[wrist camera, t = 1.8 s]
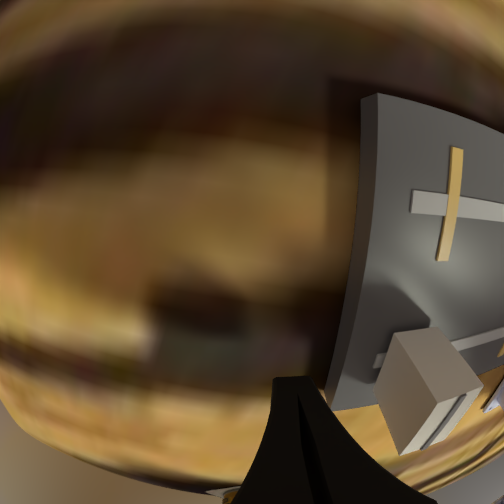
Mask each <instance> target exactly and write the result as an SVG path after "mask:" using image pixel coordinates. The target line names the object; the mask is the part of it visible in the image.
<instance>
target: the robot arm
mask: <svg viewBox="0 0 504 504" xmlns="http://www.w3.org/2000/svg"><path fill="white" fill-rule="evenodd" d="M499 405H500V406H501V407H502V409H503V410H504V379H503V381H502V382H501V384H500V386H499V387H498V389H497V390H496V392H495V393H494V395H493V396H492V398H491V399H490V400H489V402H488V403H487V405H486V406H485V407H484V409H483V413H486V412H488V411H490V410H492V409H494V408H496V407H497V406H499ZM270 409H271V410H270V414H269V418H268V422H267V426H266V429H265V432H264V435H263V438H262V441H261V444H260V447H259V449H258V452H257V454H256V456H255V459H254V461H253V463H252V465H251V467H250V470H249V472H248V473H247V475H246V477H245V479H244V481H243V483H242V485H241V487H240V488H239V490H238V492H237V493H236V495H235V497H234V498H233V500H232V501H231V503H230V504H438V503H437V501H435V500H434V499H431V498H429V497H427V496H425V495H423V494H422V493H420V492H418V491H416V490H414V489H413V488H411V487H410V486H408V485H406V484H405V483H403V482H402V481H400V480H399V479H398V478H396V477H395V476H394V475H392V474H391V473H390V472H388V471H387V470H386V469H384V468H383V467H382V466H381V465H379V464H378V463H377V462H376V461H375V460H374V459H373V458H372V457H371V456H370V455H369V454H368V453H366V452H365V451H364V450H363V449H362V448H361V446H360V445H359V444H358V443H357V442H356V441H355V440H354V439H353V438H352V436H351V435H350V434H349V433H348V432H347V430H346V429H345V428H344V427H343V425H342V424H341V423H340V422H339V420H338V419H337V417H336V416H335V415H334V413H333V412H332V410H331V409H330V408H329V406H328V405H327V403H326V401H325V400H324V398H323V397H322V395H321V393H320V392H319V390H318V388H317V387H316V385H315V383H314V381H313V379H312V377H310V376H294V377H276V378H274V379H273V383H272V396H271V408H270ZM492 504H504V495H503V496H502V497H500V498H499V499H497V500H496V501H495V502H493V503H492Z"/></svg>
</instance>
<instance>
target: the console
mask: <svg viewBox="0 0 504 504" xmlns="http://www.w3.org/2000/svg"><path fill="white" fill-rule="evenodd" d="M431 327H438V328H439V329H440V330H441V332H442V333H443V334H444V335H445V336H446V337H447V339H448V340H449V341H450V342H451V344H452V345H453V346H454V347H455V348H456V350H457V351H458V352H459V353H460V355H461V356H462V357H463V358H464V360H465V361H466V362H467V364H468V365H469V366H470V367H471V369H472V370H473V371H474V373H475V374H476V375H480V374H482V373H485V372H487V371H490V370H492V369H494V368H497V367H499V366H501V365H503V364H504V134H502V133H500V132H498V131H496V130H494V129H491V128H489V127H487V126H484V125H482V124H480V123H477V122H475V121H472V120H469V119H467V118H464V117H461V116H459V115H456V114H453V113H450V112H447V111H444V110H441V109H438V108H435V107H432V106H428V105H425V104H421V103H418V102H414V101H410V100H406V99H402V98H398V97H394V96H390V95H385V94H380V93H376V94H373V95H370V96H368V97H365V98H362V99H361V140H360V166H359V183H358V197H357V208H356V219H355V228H354V237H353V245H352V253H351V260H350V267H349V274H348V281H347V287H346V293H345V299H344V304H343V310H342V315H341V320H340V325H339V330H338V335H337V340H336V344H335V349H334V353H333V357H332V362H331V366H330V370H329V374H328V378H327V382H326V386H325V389H324V393H325V397H326V400H327V404H328V406H329V408H330V409H331V410H332V411H338V410H346V409H352V408H359V407H364V406H370V405H375V404H378V401H377V399H376V397H375V394H374V392H373V388H374V385H375V383H376V381H377V378H378V376H379V373H380V370H381V368H382V365H383V363H384V360H385V357H386V354H387V352H388V349H389V346H390V343H391V340H392V337H393V334H394V333H397V332H404V331H411V330H418V329H424V328H431Z"/></svg>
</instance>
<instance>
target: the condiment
mask: <svg viewBox="0 0 504 504" xmlns="http://www.w3.org/2000/svg"><path fill="white" fill-rule="evenodd" d="M240 487H241V486H237V487H231V488H224V489H217V490H210V491H206V493H209V494H211V495H214V496H218V497H220V498H223V504H230V503H231V501H232V500H233V498H234V497H235V495H236V493H237V492H238V490H239V488H240Z"/></svg>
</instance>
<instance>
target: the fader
mask: <svg viewBox="0 0 504 504" xmlns="http://www.w3.org/2000/svg"><path fill="white" fill-rule="evenodd" d="M483 386H484V385H483V383H482V382H481V381H480V379H479V378H478V377H477V375H476V374H475V373H474V371H473V370H472V369H471V367H470V366H469V365H468V364H467V362H466V361H465V360H464V358H463V357H462V356H461V355H460V353H459V352H458V351H457V350H456V348H455V347H454V346H453V345H452V344H451V342H450V341H449V340H448V339H447V337H446V336H445V335H444V334H443V333H442V332H441V330H440V329H439V328H438V327H431V328H424V329H418V330H411V331H404V332H397V333H394V334H393V337H392V340H391V343H390V346H389V349H388V352H387V354H386V357H385V360H384V363H383V365H382V368H381V370H380V373H379V376H378V378H377V381H376V383H375V385H374V388H373V392H374V394H375V397H376V399H377V401H378V404H379V406H380V408H381V411H382V413H383V416H384V418H385V421H386V423H387V426H388V428H389V431H390V433H391V436H392V438H393V441H394V443H395V446H396V449H397V451H398V454H399V456H400V455H404V454H407V453H410V452H413V451H416V450H419V449H420V450H424V449H427V448H428V446H430V445H432V444H435V443H437V442H440V441H442V440H444V439H445V438H446V437H447V436H448V435H449V433H450V432H451V431H452V430H453V428H454V427H455V426H456V425H457V423H458V422H459V421H460V420H461V418H462V417H463V416H464V414H465V413H466V411H467V410H468V409H469V407H470V406H471V404H472V403H473V402H474V400H475V399H476V397H477V396H478V394H479V393H480V391H481V390H482V388H483Z"/></svg>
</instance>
